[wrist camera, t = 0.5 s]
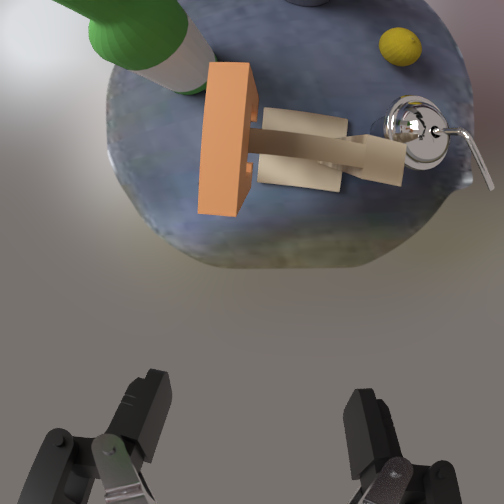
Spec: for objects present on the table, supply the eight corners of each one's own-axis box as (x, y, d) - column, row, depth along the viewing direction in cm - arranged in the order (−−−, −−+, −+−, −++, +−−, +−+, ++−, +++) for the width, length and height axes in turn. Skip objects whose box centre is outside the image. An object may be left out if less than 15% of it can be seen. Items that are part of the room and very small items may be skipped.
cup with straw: (406, 105, 31) (498, 88, 12) (413, 166, 34) (507, 191, 16) (352, 105, 32) (425, 73, 13) (361, 169, 35) (439, 194, 17)
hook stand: (241, 106, 33) (209, 65, 15) (345, 120, 33) (416, 98, 14) (235, 179, 37) (197, 212, 18) (337, 190, 37) (397, 235, 18)
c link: (235, 96, 21) (209, 62, 11) (259, 98, 21) (249, 62, 11) (228, 185, 24) (197, 213, 14) (250, 187, 24) (235, 216, 14)
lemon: (377, 71, 30) (400, 56, 22) (367, 38, 28) (386, 18, 20) (409, 71, 29) (436, 59, 21) (399, 39, 27) (423, 22, 20)
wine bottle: (191, 38, 30) (67, -83, 2) (232, 66, 31) (139, -83, 3) (155, 78, 32) (-17, 16, 4) (194, 107, 34) (20, 46, 6)
